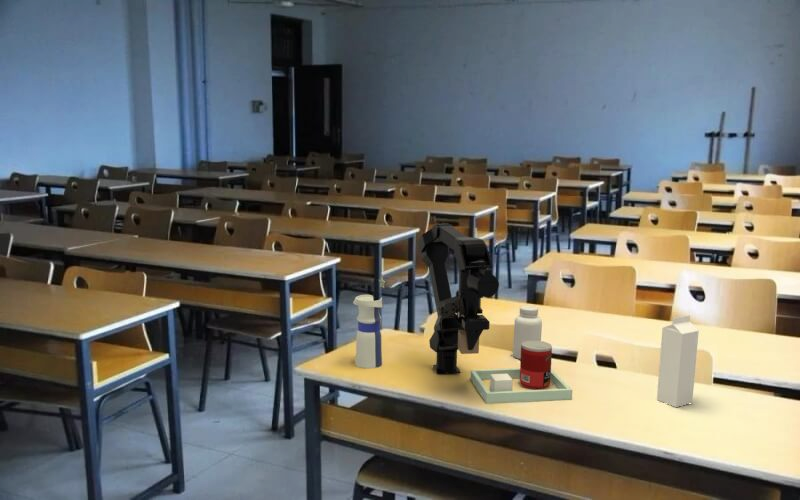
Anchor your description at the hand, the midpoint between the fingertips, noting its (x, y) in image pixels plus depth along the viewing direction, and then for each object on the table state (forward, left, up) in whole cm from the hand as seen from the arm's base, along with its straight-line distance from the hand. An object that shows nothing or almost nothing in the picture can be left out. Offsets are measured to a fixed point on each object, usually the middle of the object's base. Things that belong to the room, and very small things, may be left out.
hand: (468, 347), depth 187 cm
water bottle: (-21, -24, -11) cm, 34 cm away
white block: (+6, +7, -11) cm, 15 cm away
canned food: (0, +18, -11) cm, 21 cm away
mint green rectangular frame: (+3, +13, -11) cm, 17 cm away
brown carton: (0, 0, -1) cm, 1 cm away
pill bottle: (-22, +23, -11) cm, 34 cm away
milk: (+16, +49, -11) cm, 53 cm away
